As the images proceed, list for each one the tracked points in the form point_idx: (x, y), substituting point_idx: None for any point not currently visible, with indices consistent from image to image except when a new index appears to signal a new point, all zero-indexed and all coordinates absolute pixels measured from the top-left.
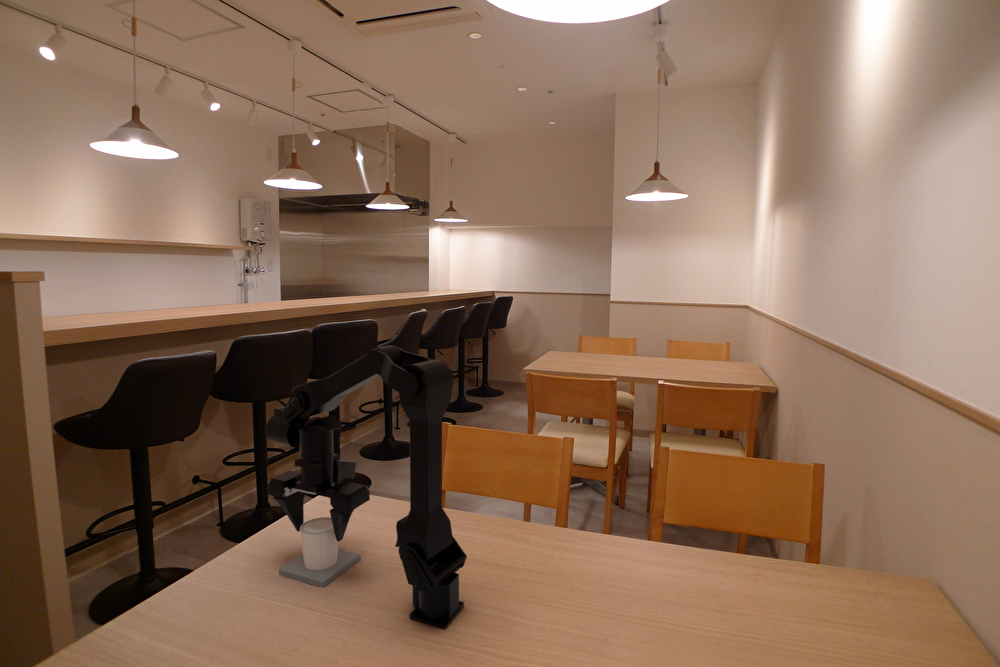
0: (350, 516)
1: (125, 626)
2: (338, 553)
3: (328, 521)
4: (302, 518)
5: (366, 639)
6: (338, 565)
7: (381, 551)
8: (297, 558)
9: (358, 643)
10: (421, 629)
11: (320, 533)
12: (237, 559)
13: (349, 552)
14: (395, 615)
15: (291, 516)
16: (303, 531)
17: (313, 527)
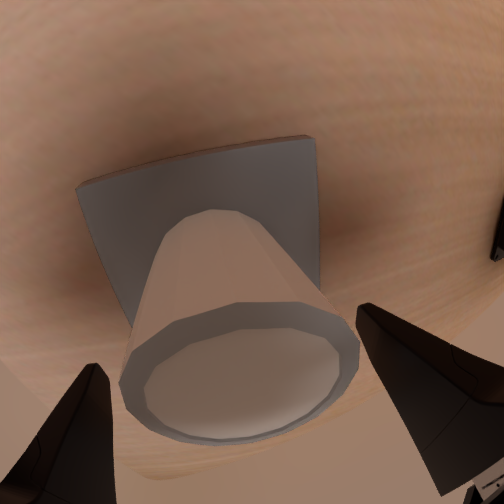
0: (479, 359)
1: (133, 465)
2: (222, 185)
3: (242, 349)
4: (84, 410)
5: (450, 322)
6: (295, 244)
7: (330, 47)
8: (124, 301)
9: (443, 332)
10: (500, 262)
11: (318, 412)
12: (11, 353)
13: (258, 151)
14: (473, 265)
15: (113, 477)
16: (231, 444)
17: (231, 416)
